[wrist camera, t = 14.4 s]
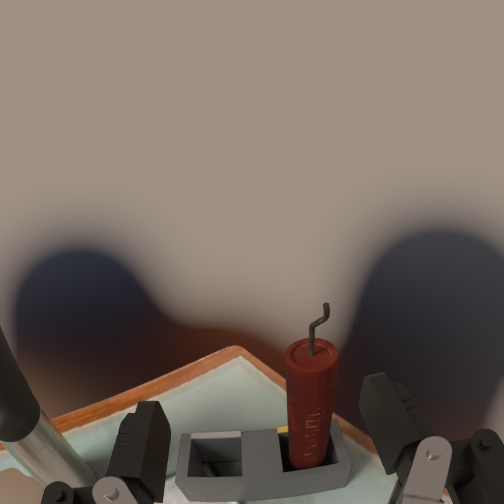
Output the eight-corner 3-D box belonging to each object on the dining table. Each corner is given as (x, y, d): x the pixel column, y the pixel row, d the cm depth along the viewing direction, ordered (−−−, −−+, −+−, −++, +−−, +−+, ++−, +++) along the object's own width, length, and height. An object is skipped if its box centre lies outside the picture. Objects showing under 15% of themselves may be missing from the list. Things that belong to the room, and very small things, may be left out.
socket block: (189, 501, 31) (174, 481, 28) (193, 457, 39) (181, 432, 36) (345, 486, 31) (352, 465, 28) (333, 443, 39) (337, 417, 36)
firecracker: (292, 488, 32) (288, 320, 22) (286, 462, 37) (276, 290, 26) (326, 481, 32) (351, 309, 22) (318, 455, 37) (330, 282, 27)
